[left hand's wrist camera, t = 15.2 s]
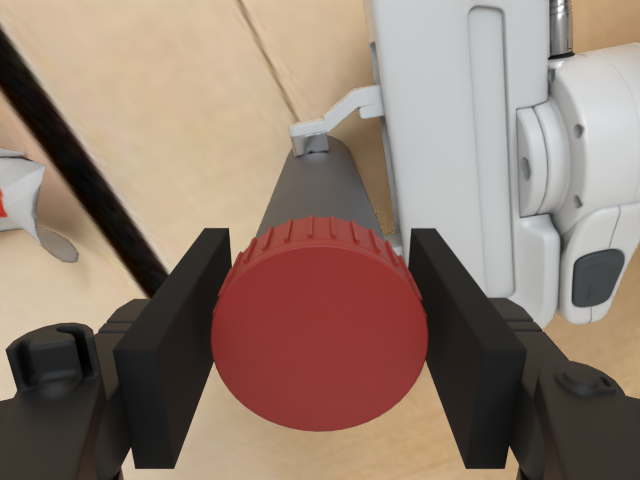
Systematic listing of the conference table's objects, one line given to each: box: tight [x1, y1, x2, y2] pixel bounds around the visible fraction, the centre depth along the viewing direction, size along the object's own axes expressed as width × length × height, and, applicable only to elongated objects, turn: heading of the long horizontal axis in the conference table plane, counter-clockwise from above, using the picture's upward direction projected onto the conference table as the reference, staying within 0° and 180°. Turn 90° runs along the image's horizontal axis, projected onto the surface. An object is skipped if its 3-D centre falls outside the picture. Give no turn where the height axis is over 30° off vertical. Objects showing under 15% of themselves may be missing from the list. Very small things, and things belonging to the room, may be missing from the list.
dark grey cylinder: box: [255, 136, 386, 242], centre depth 20 cm, size 4×4×19 cm
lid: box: [211, 215, 428, 432], centre depth 11 cm, size 5×5×2 cm
